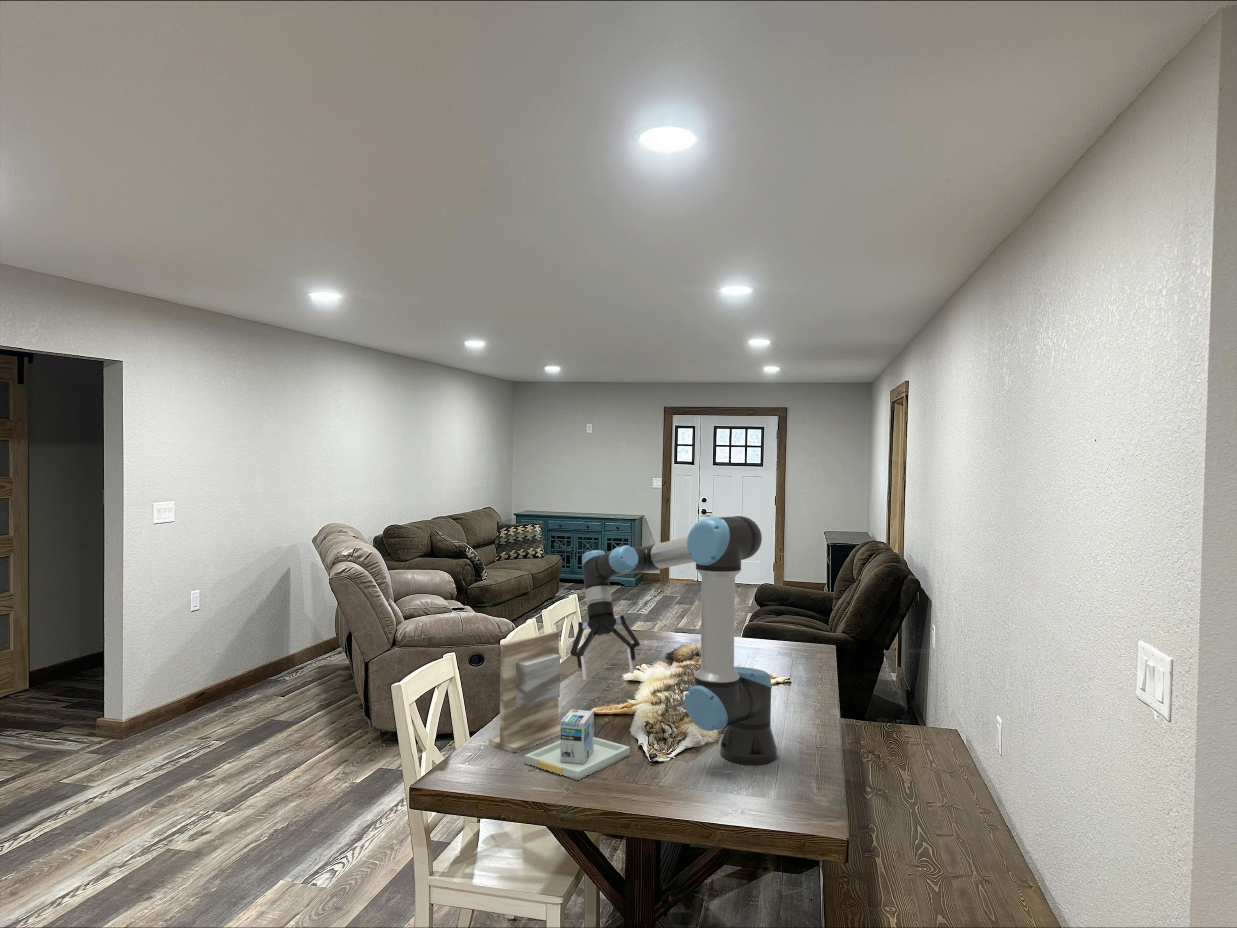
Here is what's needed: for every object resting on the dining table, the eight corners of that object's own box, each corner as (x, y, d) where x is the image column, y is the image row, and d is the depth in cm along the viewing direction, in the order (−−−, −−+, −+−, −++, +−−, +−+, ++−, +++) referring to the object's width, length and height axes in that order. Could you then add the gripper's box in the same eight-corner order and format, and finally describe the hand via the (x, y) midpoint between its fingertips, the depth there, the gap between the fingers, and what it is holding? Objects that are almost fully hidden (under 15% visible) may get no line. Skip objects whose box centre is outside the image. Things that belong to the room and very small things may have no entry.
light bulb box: (584, 764, 207) (584, 722, 207) (559, 762, 209) (559, 720, 209) (594, 750, 218) (594, 710, 218) (570, 748, 219) (570, 708, 219)
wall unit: (568, 731, 235) (569, 633, 235) (515, 753, 217) (516, 647, 217) (542, 724, 241) (543, 629, 241) (489, 745, 223) (490, 642, 223)
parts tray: (629, 755, 217) (630, 746, 217) (576, 781, 199) (576, 772, 199) (578, 740, 227) (578, 732, 227) (523, 764, 209) (523, 755, 209)
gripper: (642, 599, 241) (652, 671, 234) (560, 611, 243) (568, 683, 235) (639, 593, 234) (650, 667, 227) (555, 607, 236) (563, 681, 228)
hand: (608, 676), depth 231 cm, fingers open, 13 cm apart
